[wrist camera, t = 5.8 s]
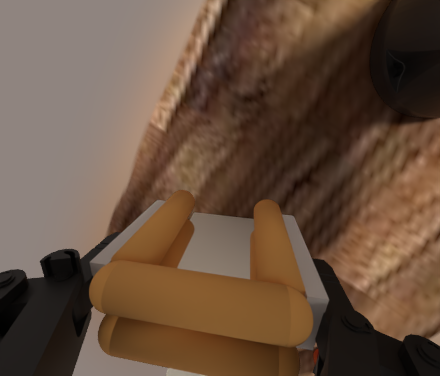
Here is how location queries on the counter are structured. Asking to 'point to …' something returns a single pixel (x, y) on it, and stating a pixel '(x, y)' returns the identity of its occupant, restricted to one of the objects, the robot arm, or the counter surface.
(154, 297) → the cord hank
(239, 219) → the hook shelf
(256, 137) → the counter surface
